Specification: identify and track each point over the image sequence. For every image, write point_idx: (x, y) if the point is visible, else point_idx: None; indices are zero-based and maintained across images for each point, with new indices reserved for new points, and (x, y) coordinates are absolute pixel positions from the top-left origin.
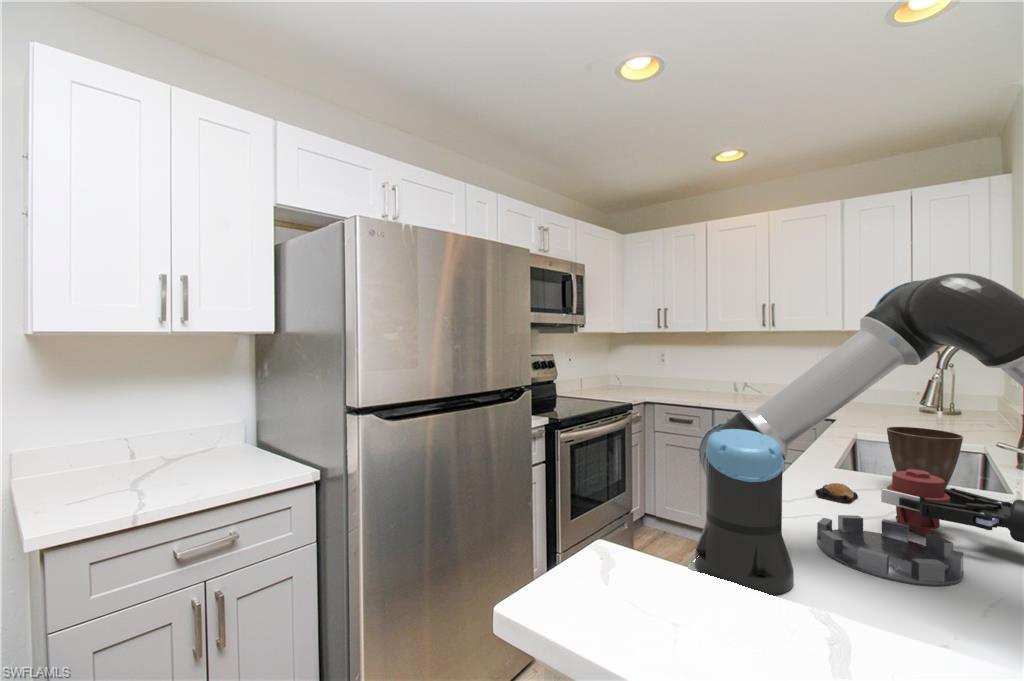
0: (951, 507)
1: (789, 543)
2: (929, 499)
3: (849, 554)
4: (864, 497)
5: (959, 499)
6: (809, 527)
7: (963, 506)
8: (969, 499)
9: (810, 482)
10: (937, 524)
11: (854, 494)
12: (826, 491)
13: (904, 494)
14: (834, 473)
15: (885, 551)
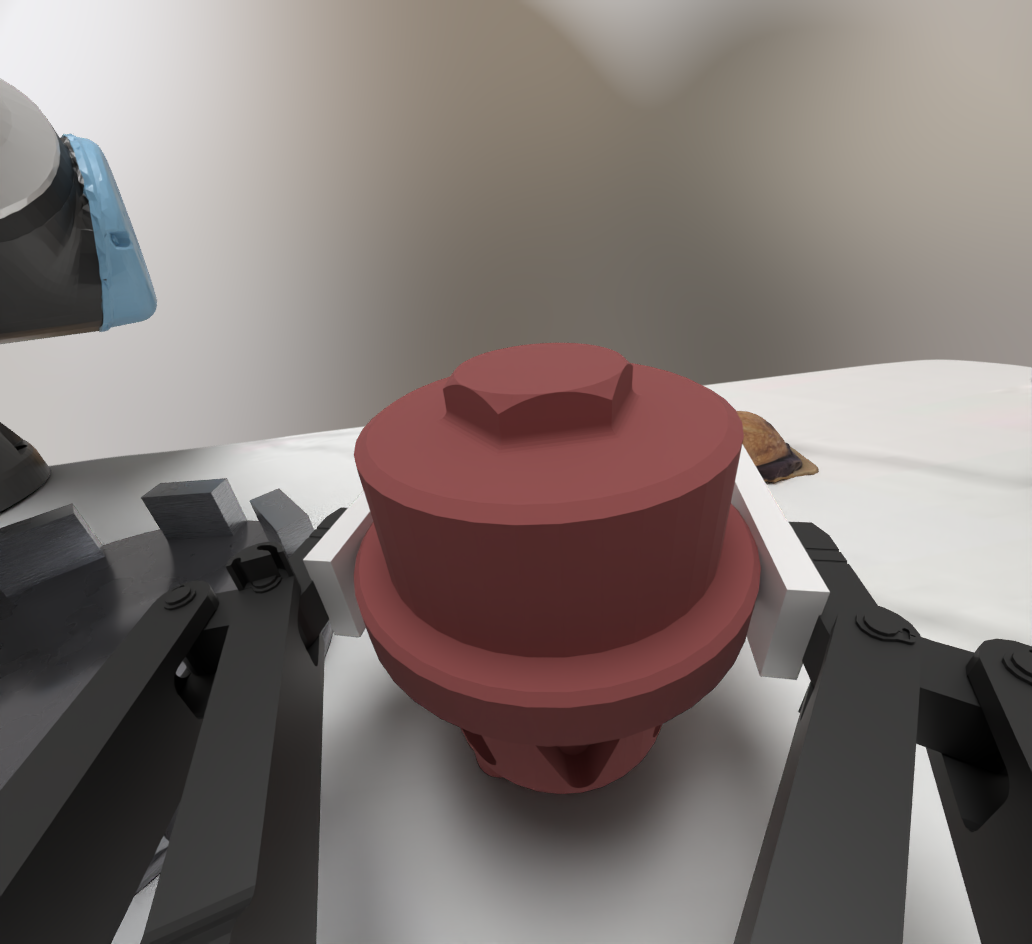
0: (76, 779)
1: (143, 509)
2: (359, 601)
3: (27, 604)
4: (820, 489)
5: (784, 798)
6: (309, 498)
7: (158, 904)
8: (756, 933)
9: (770, 404)
10: (518, 771)
11: (764, 466)
12: None
13: (357, 500)
14: (982, 397)
15: (82, 672)
